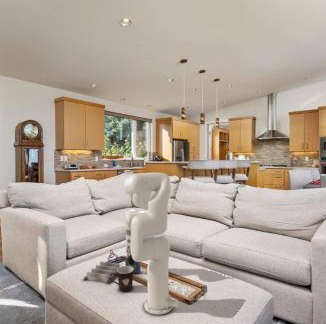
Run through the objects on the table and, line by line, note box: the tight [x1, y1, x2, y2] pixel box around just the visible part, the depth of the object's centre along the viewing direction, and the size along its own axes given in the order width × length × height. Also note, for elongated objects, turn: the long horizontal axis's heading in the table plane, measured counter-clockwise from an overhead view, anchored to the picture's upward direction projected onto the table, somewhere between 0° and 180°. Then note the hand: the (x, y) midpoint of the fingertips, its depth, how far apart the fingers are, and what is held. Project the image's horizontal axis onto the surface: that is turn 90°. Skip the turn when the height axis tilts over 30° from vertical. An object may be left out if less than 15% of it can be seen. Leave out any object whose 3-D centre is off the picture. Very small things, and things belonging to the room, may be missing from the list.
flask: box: [124, 255, 142, 275], centre depth 148 cm, size 9×3×11 cm, turn 76°
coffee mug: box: [108, 265, 134, 293], centre depth 131 cm, size 12×9×10 cm
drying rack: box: [83, 261, 121, 285], centre depth 146 cm, size 15×17×4 cm
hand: (132, 262), depth 148 cm, fingers closed on flask, 3 cm apart
